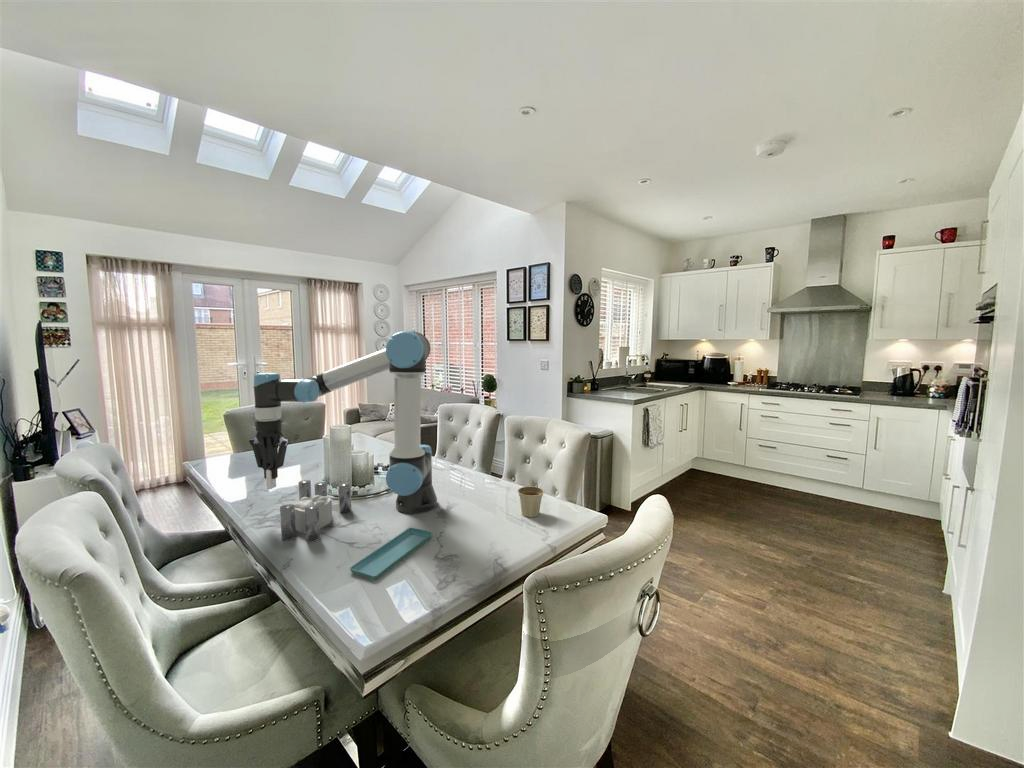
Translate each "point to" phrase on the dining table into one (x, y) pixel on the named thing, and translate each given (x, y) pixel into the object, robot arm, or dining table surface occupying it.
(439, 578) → the dining table surface
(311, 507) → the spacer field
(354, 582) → the dining table surface
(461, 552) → the dining table surface
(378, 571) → the rectangular tray
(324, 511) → the lumpy-topped squat cylinder
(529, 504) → the flower pot
